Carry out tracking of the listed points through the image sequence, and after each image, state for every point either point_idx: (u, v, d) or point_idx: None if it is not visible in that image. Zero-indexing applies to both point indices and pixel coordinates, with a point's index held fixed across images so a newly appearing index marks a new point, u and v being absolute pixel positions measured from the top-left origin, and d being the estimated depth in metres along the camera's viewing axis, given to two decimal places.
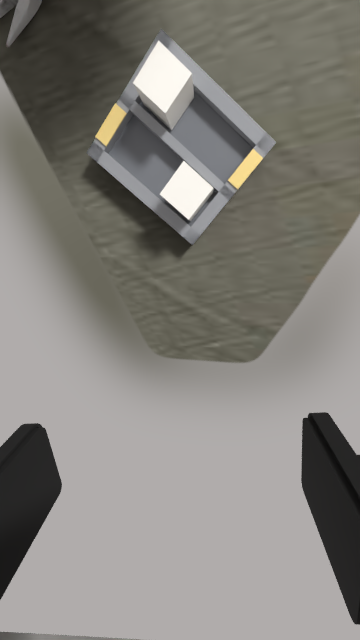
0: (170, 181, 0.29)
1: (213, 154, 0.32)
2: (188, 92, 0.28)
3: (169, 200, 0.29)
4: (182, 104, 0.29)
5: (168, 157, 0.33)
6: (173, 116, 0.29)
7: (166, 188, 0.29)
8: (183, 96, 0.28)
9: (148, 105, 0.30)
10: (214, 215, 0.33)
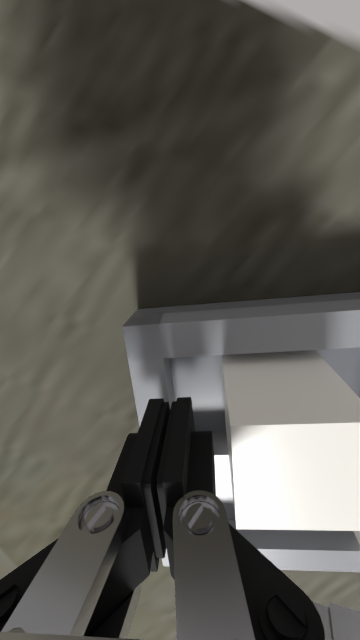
0: None
1: None
2: None
3: (333, 429, 0.08)
4: None
5: None
6: None
7: None
8: None
9: None
10: (141, 415, 0.12)
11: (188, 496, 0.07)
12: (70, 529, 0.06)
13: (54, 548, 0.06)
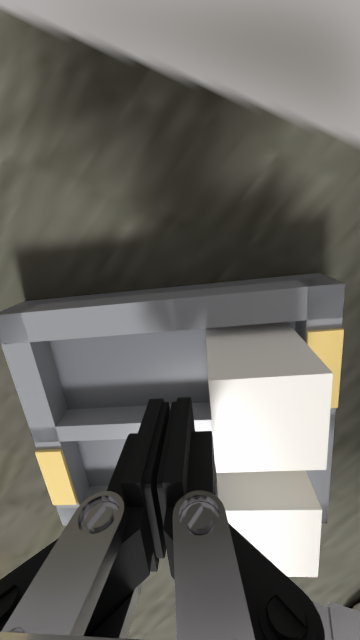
0: (325, 417, 0.09)
1: None
2: None
3: (294, 380, 0.09)
4: None
5: (185, 391, 0.16)
6: None
7: (323, 397, 0.09)
8: None
9: None
10: (20, 392, 0.15)
11: (188, 496, 0.07)
12: (70, 529, 0.06)
13: (54, 548, 0.06)
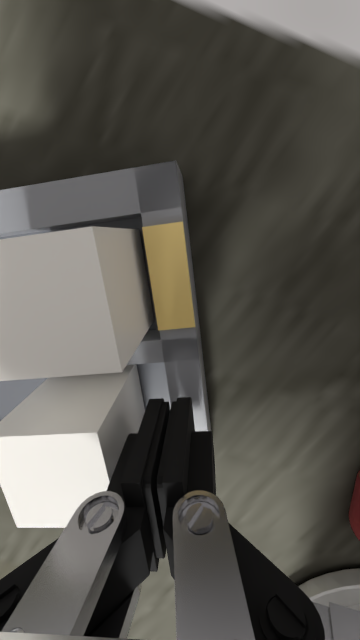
0: (100, 293, 0.07)
1: None
2: None
3: (48, 240, 0.07)
4: None
5: None
6: None
7: (90, 263, 0.07)
8: None
9: (101, 382, 0.12)
10: None
11: (188, 496, 0.07)
12: (70, 529, 0.06)
13: (54, 548, 0.06)
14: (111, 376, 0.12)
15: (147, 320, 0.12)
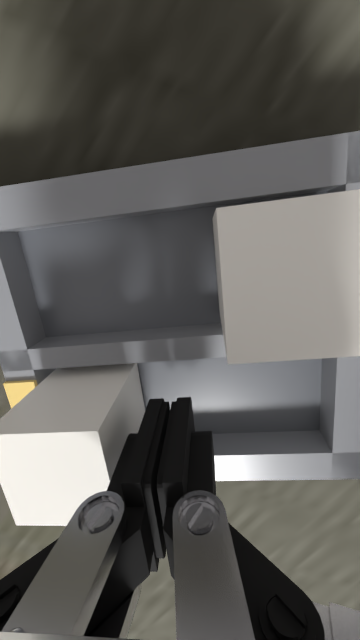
0: None
1: None
2: None
3: (343, 200, 0.06)
4: None
5: (187, 308, 0.13)
6: None
7: None
8: None
9: (102, 380, 0.12)
10: None
11: (188, 496, 0.07)
12: (70, 529, 0.06)
13: (54, 548, 0.06)
14: (111, 374, 0.12)
15: None
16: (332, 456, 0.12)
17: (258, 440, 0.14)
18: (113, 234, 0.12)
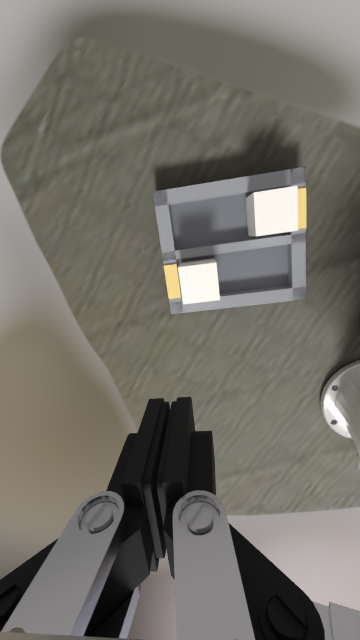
0: (296, 205, 0.26)
1: None
2: None
3: (284, 189, 0.26)
4: None
5: (235, 234, 0.32)
6: None
7: (295, 196, 0.26)
8: None
9: (205, 260, 0.32)
10: (160, 232, 0.32)
11: (188, 496, 0.07)
12: (70, 529, 0.06)
13: (54, 548, 0.06)
14: (208, 259, 0.32)
15: None
16: (292, 289, 0.32)
17: (263, 289, 0.34)
18: (207, 205, 0.32)
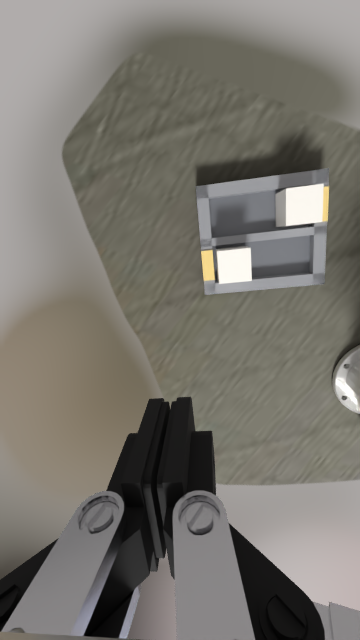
0: (321, 200, 0.31)
1: None
2: None
3: (312, 186, 0.31)
4: (217, 267, 0.37)
5: (264, 225, 0.37)
6: (216, 256, 0.36)
7: (321, 192, 0.31)
8: None
9: (238, 247, 0.36)
10: (200, 221, 0.36)
11: (188, 496, 0.07)
12: (70, 529, 0.06)
13: (54, 548, 0.06)
14: (240, 246, 0.37)
15: None
16: (313, 275, 0.37)
17: (287, 275, 0.38)
18: (241, 199, 0.37)
